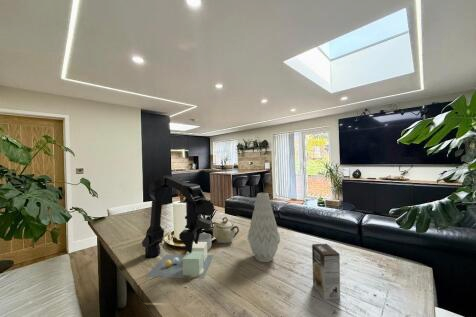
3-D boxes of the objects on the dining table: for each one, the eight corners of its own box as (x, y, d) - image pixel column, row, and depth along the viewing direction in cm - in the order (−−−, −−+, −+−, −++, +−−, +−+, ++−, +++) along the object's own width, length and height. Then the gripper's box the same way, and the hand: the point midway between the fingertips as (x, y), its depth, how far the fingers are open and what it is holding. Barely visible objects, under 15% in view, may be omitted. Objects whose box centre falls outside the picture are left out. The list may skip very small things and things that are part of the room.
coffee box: (312, 284, 80) (311, 243, 80) (327, 283, 81) (326, 242, 81) (323, 300, 71) (322, 254, 71) (341, 298, 71) (340, 253, 72)
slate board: (144, 278, 87) (144, 276, 87) (166, 255, 107) (166, 254, 107) (204, 279, 84) (204, 278, 84) (213, 256, 105) (213, 255, 105)
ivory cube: (189, 262, 99) (189, 247, 99) (193, 255, 106) (193, 241, 106) (204, 262, 98) (203, 247, 98) (207, 255, 105) (207, 241, 105)
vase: (240, 258, 102) (239, 194, 102) (260, 248, 114) (259, 190, 115) (268, 270, 91) (266, 197, 91) (286, 257, 103) (285, 193, 103)
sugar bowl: (244, 239, 127) (244, 215, 127) (232, 249, 114) (232, 222, 114) (218, 234, 136) (218, 212, 137) (204, 242, 123) (204, 218, 123)
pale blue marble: (171, 265, 96) (171, 259, 96) (174, 262, 99) (174, 256, 99) (177, 265, 95) (177, 259, 95) (180, 262, 98) (179, 256, 98)
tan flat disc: (180, 277, 86) (180, 276, 86) (187, 266, 95) (187, 265, 95) (200, 277, 85) (200, 276, 85) (205, 266, 94) (205, 265, 94)
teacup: (207, 255, 106) (207, 240, 106) (188, 254, 108) (188, 239, 108) (215, 245, 120) (215, 231, 120) (198, 243, 122) (198, 230, 122)
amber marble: (163, 268, 93) (163, 261, 93) (166, 264, 96) (166, 258, 96) (170, 268, 93) (170, 261, 93) (172, 265, 96) (172, 258, 96)
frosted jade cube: (182, 275, 87) (182, 258, 87) (188, 266, 94) (188, 251, 94) (199, 275, 86) (199, 259, 86) (203, 266, 93) (203, 251, 93)
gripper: (205, 218, 80) (206, 258, 80) (214, 208, 99) (215, 240, 99) (178, 218, 81) (179, 257, 81) (192, 208, 100) (193, 239, 100)
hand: (193, 248), depth 90 cm, fingers open, 9 cm apart
